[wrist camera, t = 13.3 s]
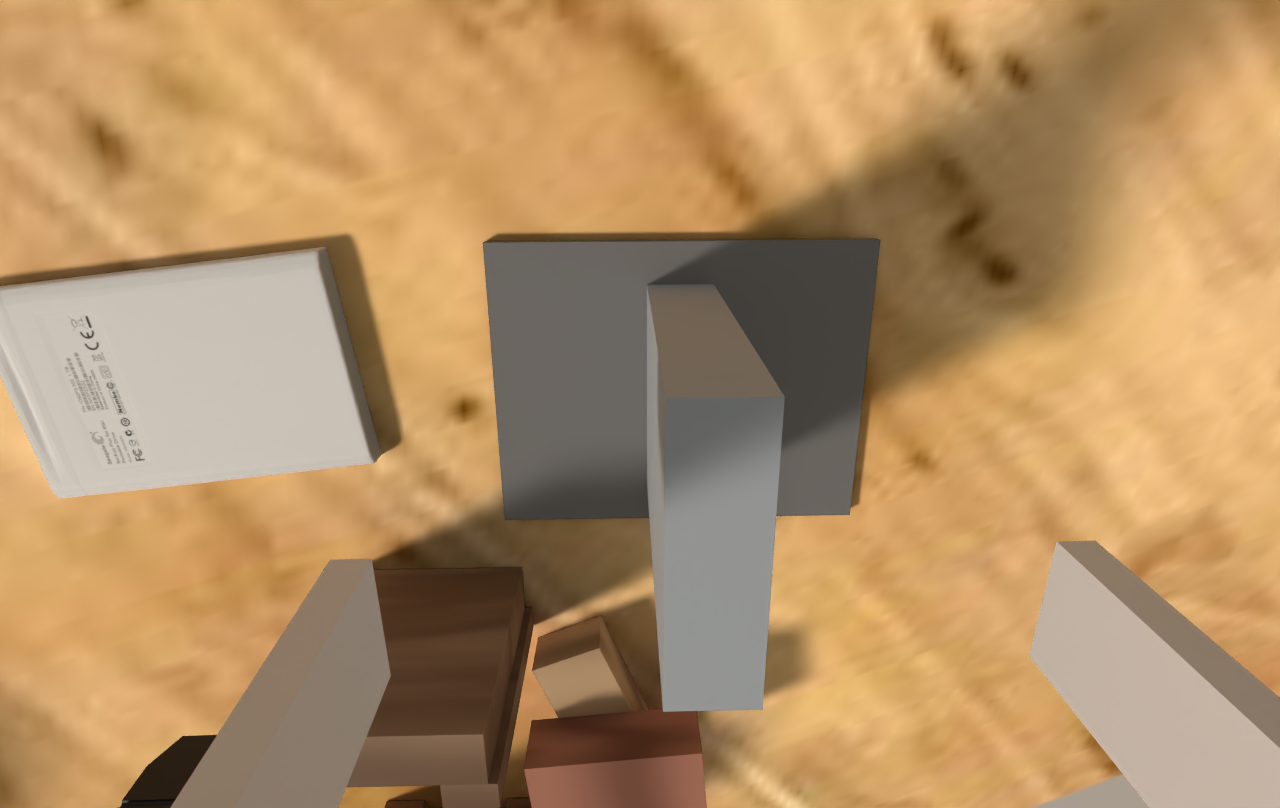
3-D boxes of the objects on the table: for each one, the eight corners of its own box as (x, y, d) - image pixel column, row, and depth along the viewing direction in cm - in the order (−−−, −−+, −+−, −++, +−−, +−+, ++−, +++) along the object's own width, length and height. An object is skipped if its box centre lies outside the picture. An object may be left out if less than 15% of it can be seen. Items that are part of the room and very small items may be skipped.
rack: (347, 570, 30) (239, 739, 21) (529, 567, 30) (492, 734, 22) (394, 846, 35) (323, 1066, 27) (547, 842, 36) (524, 1061, 27)
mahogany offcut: (541, 773, 31) (535, 824, 29) (531, 720, 30) (524, 769, 28) (700, 759, 31) (706, 809, 29) (696, 705, 30) (702, 753, 28)
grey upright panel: (646, 284, 26) (665, 398, 14) (713, 284, 26) (784, 396, 14) (646, 484, 28) (662, 711, 17) (707, 484, 28) (762, 709, 17)
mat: (485, 241, 25) (482, 242, 25) (876, 238, 26) (880, 240, 25) (506, 515, 29) (504, 520, 29) (846, 510, 29) (849, 514, 29)
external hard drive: (386, 449, 29) (82, 484, 29) (332, 243, 26) (-4, 284, 26) (373, 466, 27) (53, 503, 27) (314, 250, 24) (-43, 293, 24)
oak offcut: (539, 631, 32) (532, 670, 29) (601, 610, 31) (599, 648, 29) (616, 772, 35) (615, 818, 32) (674, 754, 34) (677, 799, 32)
